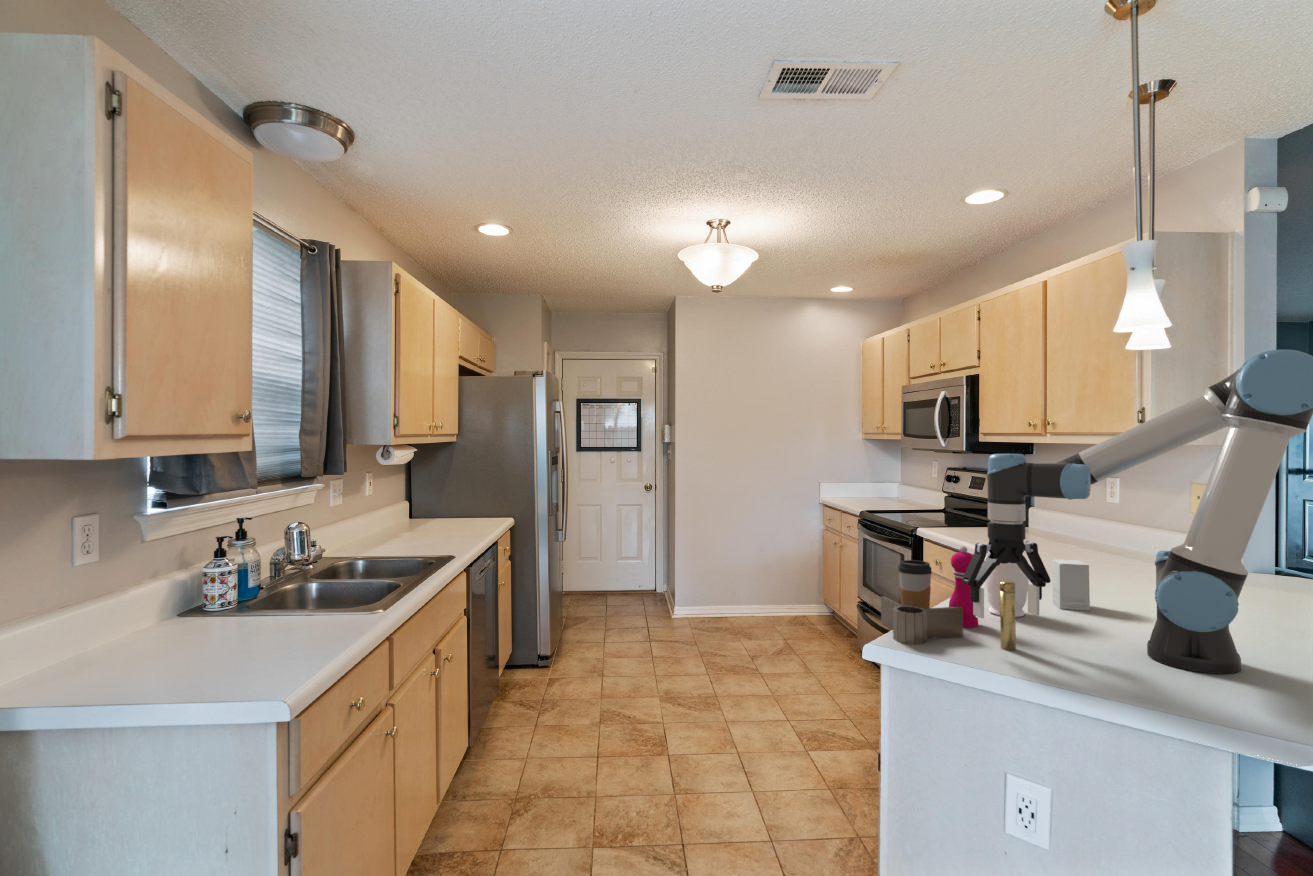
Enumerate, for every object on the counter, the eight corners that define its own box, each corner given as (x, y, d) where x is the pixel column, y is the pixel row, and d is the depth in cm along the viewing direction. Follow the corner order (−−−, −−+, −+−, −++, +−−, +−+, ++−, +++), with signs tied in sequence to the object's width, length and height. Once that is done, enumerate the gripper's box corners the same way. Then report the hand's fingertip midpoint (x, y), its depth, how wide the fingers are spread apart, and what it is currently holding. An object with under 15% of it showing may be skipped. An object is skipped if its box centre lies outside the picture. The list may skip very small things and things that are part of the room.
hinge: (971, 641, 148) (971, 611, 148) (903, 645, 146) (903, 614, 146) (930, 620, 165) (930, 594, 165) (869, 624, 163) (869, 597, 163)
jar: (1018, 608, 175) (1017, 554, 176) (1036, 619, 165) (1035, 562, 165) (978, 608, 177) (977, 554, 177) (994, 618, 166) (993, 561, 166)
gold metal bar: (1019, 650, 141) (1017, 583, 141) (1006, 651, 141) (1005, 584, 141) (1009, 646, 144) (1008, 580, 144) (997, 646, 144) (996, 581, 144)
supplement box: (1090, 611, 172) (1089, 564, 172) (1059, 609, 174) (1058, 563, 175) (1082, 604, 179) (1081, 560, 179) (1052, 602, 181) (1051, 558, 182)
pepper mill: (984, 623, 162) (982, 545, 162) (975, 630, 157) (974, 549, 157) (954, 618, 167) (953, 543, 167) (945, 624, 161) (943, 546, 162)
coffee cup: (906, 613, 172) (906, 558, 172) (937, 619, 166) (937, 562, 166) (893, 619, 166) (892, 563, 166) (924, 626, 160) (923, 567, 160)
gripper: (1043, 518, 148) (1043, 608, 148) (945, 520, 145) (945, 612, 145) (1068, 522, 141) (1068, 617, 141) (965, 525, 137) (965, 622, 137)
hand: (1006, 615), depth 143 cm, fingers open, 13 cm apart
